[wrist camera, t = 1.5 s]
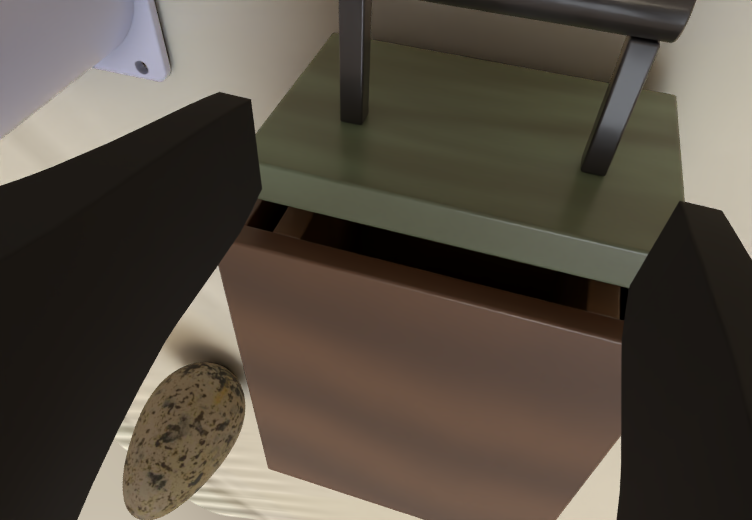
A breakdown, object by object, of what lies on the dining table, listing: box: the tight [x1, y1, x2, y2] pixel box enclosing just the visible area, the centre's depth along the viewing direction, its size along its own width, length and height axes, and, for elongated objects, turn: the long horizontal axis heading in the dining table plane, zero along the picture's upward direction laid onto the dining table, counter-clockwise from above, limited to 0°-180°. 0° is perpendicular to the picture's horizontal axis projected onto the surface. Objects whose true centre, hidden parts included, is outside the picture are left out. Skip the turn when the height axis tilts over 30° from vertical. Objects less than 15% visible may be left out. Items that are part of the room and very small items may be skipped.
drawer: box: [255, 0, 696, 319], centre depth 18 cm, size 18×10×7 cm, turn 178°
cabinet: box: [218, 199, 629, 520], centre depth 22 cm, size 14×11×8 cm
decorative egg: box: [123, 362, 245, 520], centre depth 36 cm, size 6×6×10 cm
